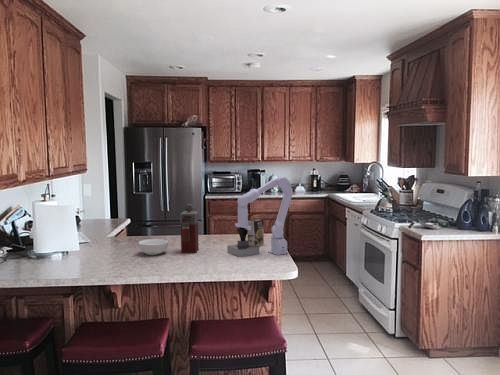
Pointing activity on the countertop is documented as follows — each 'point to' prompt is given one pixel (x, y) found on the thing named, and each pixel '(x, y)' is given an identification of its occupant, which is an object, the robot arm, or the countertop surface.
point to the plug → (243, 243)
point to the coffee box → (256, 232)
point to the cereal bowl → (153, 246)
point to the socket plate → (243, 250)
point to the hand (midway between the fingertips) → (243, 240)
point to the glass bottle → (189, 230)
